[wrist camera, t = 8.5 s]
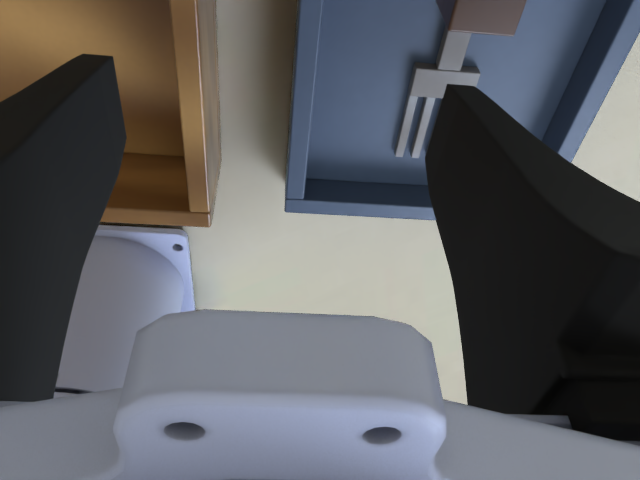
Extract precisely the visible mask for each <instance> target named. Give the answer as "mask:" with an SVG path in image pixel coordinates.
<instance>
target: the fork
mask: <svg viewBox="0 0 640 480" xmlns="http://www.w3.org/2000/svg"><path fill="white" fill-rule="evenodd" d="M526 1H527V0H436V3H437V5H438V8H439V10H440V13H441V15H442V18H443V20H444V22H445V29H444V33H443V36H442V40H441V44H440V48H439V52H438V55H437V59H436V64H430V63H417V62H415V63H414V66H413V71H412V75H411V79H410V83H409V88H408V94H407V98H406V102H405V107H404V111H403V115H402V119H401V124H400V128H399V132H398V136H397V140H396V145H395V149H394V154H395V157H403V155H404V151H405V147H406V143H407V139H408V135H409V131H410V127H411V123H412V119H413V115H414V111H415V107H416V103H417V99H418V97H424V100H423V104H422V108H421V112H420V115H419V119H418V123H417V127H416V131H415V135H414V138H413V142H412V146H411V150H410V155H411V158H419V156H420V152H421V149H422V145H423V141H424V138H425V134H426V131H427V127H428V123H429V120H430V116H431V113H432V109H433V105H434V102H435V98H441V102H442V99H443V96H444V92H445V89H446V86H447V84H456V85H468V86H475V87H476V86H477V83H478V80H479V77H480V71H479V69H478V67H468V66H462V63H463V60H464V57H465V54H466V50H467V47H468V44H469V40H470V37H471V34H472V33H475V34H487V35H499V36H511V37H512V36H514V35H515V32H516V29H517V26H518V23H519V21H520V18H521V15H522V12H523V10H524V7H525V4H526ZM441 102H440V105H439V109H440V106H441ZM439 109H438V112H437V116H438V113H439ZM437 116H436V119H437ZM436 119H435V123H436ZM435 123H434V126H435ZM434 126H433V129H434ZM432 133H433V130H432ZM432 133H431V136H432ZM430 139H431V137H430ZM429 143H430V140H429ZM428 146H429V144H428ZM427 150H428V147H427ZM426 153H427V151H426Z"/></svg>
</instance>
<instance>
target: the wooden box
mask: <svg viewBox="0 0 640 480" xmlns="http://www.w3.org/2000/svg"><path fill="white" fill-rule="evenodd" d="M81 54H94V55H106V56H113V59H114V65H115V71H116V77H117V83H118V89H119V95H120V101H121V106H122V112H123V118H124V124H125V130H126V136H127V139H126V144H125V149H124V153H123V158H122V162H121V167H120V171H119V175H118V178H117V180H116V183H115V185H114V188H113V191H112V193H111V196H110V198H109V201H108V203H107V206H106V208H105V211H104V213H103V216H102V218H101V221H100V222H115V223H134V224H154V225H174V226H193V227H210V226H211V224H212V217H213V211H214V205H215V199H216V192H217V186H218V180H219V174H220V167H221V161H222V159H221V132H220V105H219V79H218V52H217V25H216V0H0V102H1V101H3V100H5V99H7V98H8V97H10V96H12V95H14V94H16V93H17V92H19V91H21V90H22V89H24V88H26V87H27V86H29V85H31V84H32V83H34V82H35V81H37V80H39V79H40V78H42V77H44V76H45V75H47V74H48V73H50V72H52V71H53V70H55V69H56V68H58V67H60V66H61V65H63V64H65V63H66V62H68V61H70V60H71V59H73V58H75V57H77V56H79V55H81Z"/></svg>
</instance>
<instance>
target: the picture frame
mask: <svg viewBox="0 0 640 480" xmlns="http://www.w3.org/2000/svg"><path fill="white" fill-rule="evenodd" d="M444 29H445V22H444V20H443V18H442V15H441V13H440V10H439V8H438V5H437V3H436V0H298V3H297V18H296V33H295V47H294V62H293V77H292V92H291V107H290V121H289V136H288V151H287V166H286V181H285V212H291V213H310V214H328V215H347V216H365V217H384V218H403V219H421V220H436V218H435V215H434V211H433V207H432V204H431V200H430V196H429V190H428V182H427V174H426V164H425V156H426V151H427V147H428V144H429V140H430V137H431V133H432V130H433V126H434V123H435V119H436V116H437V112H438V109H439V105H440V102H441V98H435V102H434V105H433V109H432V113H431V116H430V120H429V123H428V127H427V131H426V134H425V138H424V141H423V145H422V149H421V152H420V156H419V158H411V155H410V150H411V146H412V142H413V138H414V135H415V131H416V127H417V123H418V119H419V115H420V112H421V108H422V104H423V100H424V97H418V99H417V103H416V107H415V111H414V115H413V119H412V123H411V127H410V131H409V135H408V139H407V143H406V147H405V151H404V155H403V157H395V154H394V149H395V145H396V140H397V136H398V132H399V128H400V124H401V119H402V115H403V111H404V107H405V102H406V98H407V94H408V88H409V83H410V79H411V75H412V71H413V66H414V63H415V62H417V63H430V64H436V59H437V55H438V52H439V48H440V44H441V40H442V36H443V33H444ZM639 32H640V0H527V1H526V4H525V7H524V10H523V12H522V15H521V18H520V21H519V23H518V26H517V29H516V32H515V35H514V36H512V37H511V36H499V35H487V34H475V33H472V34H471V37H470V40H469V44H468V47H467V50H466V54H465V57H464V60H463V63H462V66H468V67H478V69H479V71H480V77H479V80H478V83H477V86H476V88H478V89H479V90H481V91H482V92H483V93H484V94H486V95H487V96H488V97H489V98H491V99H492V100H493V101H494V102H495V103H496V104H498V105H499V106H500V107H501V108H502V109H503V110H505V111H506V112H507V113H508V114H509V115H510V116H512V117H513V118H514V119H515V120H516V121H517V122H519V123H520V124H521V125H522V126H523V127H525V128H526V129H527V130H528V131H529V132H531V133H532V134H533V135H534V136H535V137H537V138H538V139H539V140H541V141H542V142H543V143H544V144H546V145H547V146H548V147H550V148H551V149H552V150H554V151H555V152H556V153H558V154H559V155H560V156H562V157H563V158H565V159H566V160H567V161H569V162H570V163H571V162H572V160H573V158H574V156H575V154H576V152H577V150H578V148H579V146H580V145H581V143H582V141H583V139H584V137H585V135H586V133H587V131H588V129H589V127H590V126H591V124H592V122H593V120H594V118H595V116H596V114H597V112H598V110H599V108H600V107H601V105H602V103H603V101H604V99H605V97H606V95H607V93H608V91H609V89H610V88H611V86H612V84H613V82H614V80H615V78H616V76H617V74H618V72H619V70H620V69H621V67H622V65H623V63H624V61H625V59H626V57H627V55H628V53H629V51H630V50H631V48H632V46H633V44H634V42H635V40H636V38H637V36H638V34H639Z"/></svg>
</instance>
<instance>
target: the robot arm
mask: <svg viewBox="0 0 640 480" xmlns="http://www.w3.org/2000/svg"><path fill="white" fill-rule="evenodd" d="M126 139H127V136H126V130H125V124H124V118H123V112H122V106H121V101H120V95H119V89H118V83H117V77H116V71H115V65H114V59H113V56H106V55H94V54H81V55H79V56H77V57H75V58H73V59H71V60H70V61H68V62H66V63H65V64H63V65H61V66H60V67H58V68H56V69H55V70H53V71H52V72H50V73H48V74H47V75H45V76H44V77H42V78H40V79H39V80H37V81H35V82H34V83H32V84H31V85H29V86H27V87H26V88H24V89H22V90H21V91H19V92H17V93H16V94H14V95H12V96H10V97H8V98H7V99H5V100H3V101H1V102H0V480H640V202H638V201H636V200H634V199H632V198H630V197H628V196H626V195H624V194H622V193H620V192H618V191H617V190H615V189H613V188H611V187H609V186H607V185H606V184H604V183H602V182H600V181H599V180H597V179H596V178H594V177H592V176H591V175H589V174H588V173H586V172H584V171H583V170H581V169H579V168H578V167H576V166H575V165H573V164H572V163H570V162H569V161H567V160H566V159H565V158H563V157H562V156H560V155H559V154H558V153H556V152H555V151H554V150H552V149H551V148H550V147H548V146H547V145H546V144H544V143H543V142H542V141H541V140H539V139H538V138H537V137H535V136H534V135H533V134H532V133H531V132H529V131H528V130H527V129H526V128H525V127H523V126H522V125H521V124H520V123H519V122H517V121H516V120H515V119H514V118H513V117H512V116H510V115H509V114H508V113H507V112H506V111H505V110H503V109H502V108H501V107H500V106H499V105H498V104H496V103H495V102H494V101H493V100H492V99H491V98H489V97H488V96H487V95H486V94H484V93H483V92H482V91H481V90H479V89H478V88H476V87H475V86H468V85H456V84H447V86H446V89H445V92H444V96H443V99H442V102H441V106H440V109H439V113H438V116H437V119H436V123H435V126H434V129H433V133H432V136H431V139H430V143H429V146H428V150H427V153H426V156H425V164H426V174H427V182H428V190H429V196H430V200H431V204H432V207H433V211H434V215H435V218H436V222H437V226H438V229H439V233H440V236H441V240H442V243H443V247H444V251H445V254H446V258H447V261H448V265H449V268H450V273H451V277H452V281H453V286H454V293H455V299H456V306H457V312H458V319H459V327H460V335H461V343H462V351H463V359H464V370H465V380H466V391H467V402H468V405H465V404H461V403H457V402H452V401H448V400H444V399H443V398H442V393H441V388H440V383H439V378H438V373H437V368H436V363H435V358H434V353H433V348H432V343H431V342H430V341H429V340H428V339H427V338H425V337H424V336H423V335H422V334H420V333H419V332H418V331H417V330H416V329H414V328H413V327H412V326H411V325H408V324H406V323H402V322H397V321H392V320H388V319H383V318H378V317H374V316H351V315H327V314H303V313H280V312H256V311H232V310H208V309H203V310H196V309H195V299H194V289H193V280H192V270H191V261H190V251H189V242H188V235H187V233H186V232H185V231H183V230H181V229H170V228H151V227H131V226H111V225H99V223H100V221H101V218H102V216H103V213H104V211H105V208H106V206H107V203H108V201H109V198H110V196H111V193H112V191H113V188H114V185H115V183H116V180H117V178H118V175H119V171H120V167H121V162H122V158H123V153H124V149H125V144H126ZM176 244H179V245H181V246H178V245H176Z"/></svg>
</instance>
